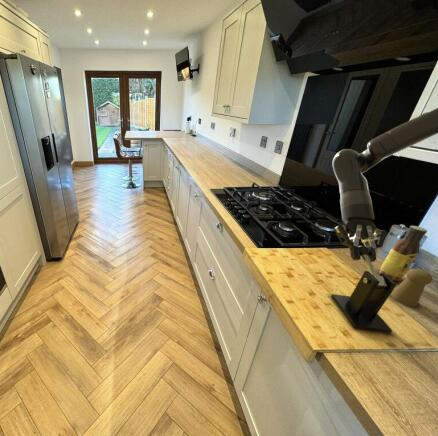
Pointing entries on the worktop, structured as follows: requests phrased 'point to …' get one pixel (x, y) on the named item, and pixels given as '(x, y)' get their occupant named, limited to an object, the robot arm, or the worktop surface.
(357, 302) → the bracket
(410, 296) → the cork
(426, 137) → the robot arm
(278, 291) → the worktop surface
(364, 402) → the worktop surface
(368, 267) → the lever
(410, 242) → the sauce bottle
